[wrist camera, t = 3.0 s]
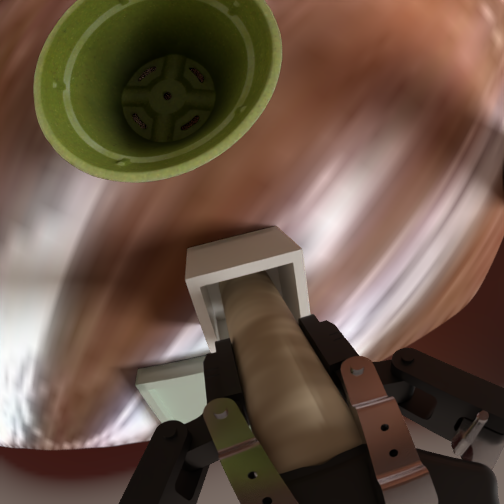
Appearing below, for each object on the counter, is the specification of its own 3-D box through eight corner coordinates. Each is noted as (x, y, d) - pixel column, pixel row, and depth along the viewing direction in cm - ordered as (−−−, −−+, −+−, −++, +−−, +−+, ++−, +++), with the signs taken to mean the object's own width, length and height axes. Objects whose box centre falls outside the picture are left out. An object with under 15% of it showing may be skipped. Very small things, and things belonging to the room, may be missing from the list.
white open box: (276, 225, 19) (302, 249, 15) (289, 302, 21) (312, 340, 17) (187, 248, 18) (184, 279, 14) (210, 323, 21) (216, 367, 16)
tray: (309, 326, 23) (318, 340, 21) (316, 402, 27) (322, 415, 25) (137, 368, 21) (134, 384, 19) (182, 436, 25) (183, 450, 23)
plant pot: (272, 105, 16) (332, 71, 8) (162, 200, 17) (133, 238, 9) (183, 14, 13) (180, -64, 5) (74, 105, 14) (0, 80, 6)
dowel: (263, 253, 19) (379, 425, 6) (271, 297, 20) (365, 468, 7) (213, 266, 18) (257, 470, 5) (225, 309, 20) (274, 501, 7)
